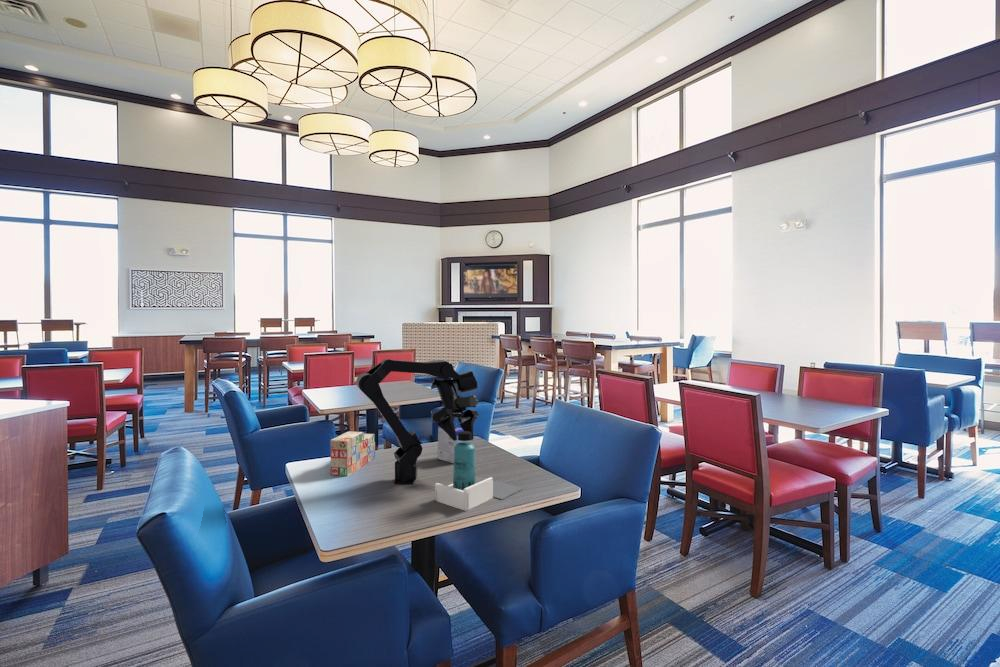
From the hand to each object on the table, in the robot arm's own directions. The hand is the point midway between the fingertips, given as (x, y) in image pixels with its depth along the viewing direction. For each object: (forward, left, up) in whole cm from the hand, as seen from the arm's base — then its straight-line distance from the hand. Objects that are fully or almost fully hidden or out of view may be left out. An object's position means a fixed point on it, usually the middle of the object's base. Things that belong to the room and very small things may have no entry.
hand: (464, 440), depth 152 cm
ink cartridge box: (-7, +24, -14) cm, 29 cm away
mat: (+9, -4, -14) cm, 17 cm away
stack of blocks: (-41, +15, -14) cm, 46 cm away
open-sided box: (+2, -14, -14) cm, 20 cm away
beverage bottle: (+2, -14, -14) cm, 20 cm away
